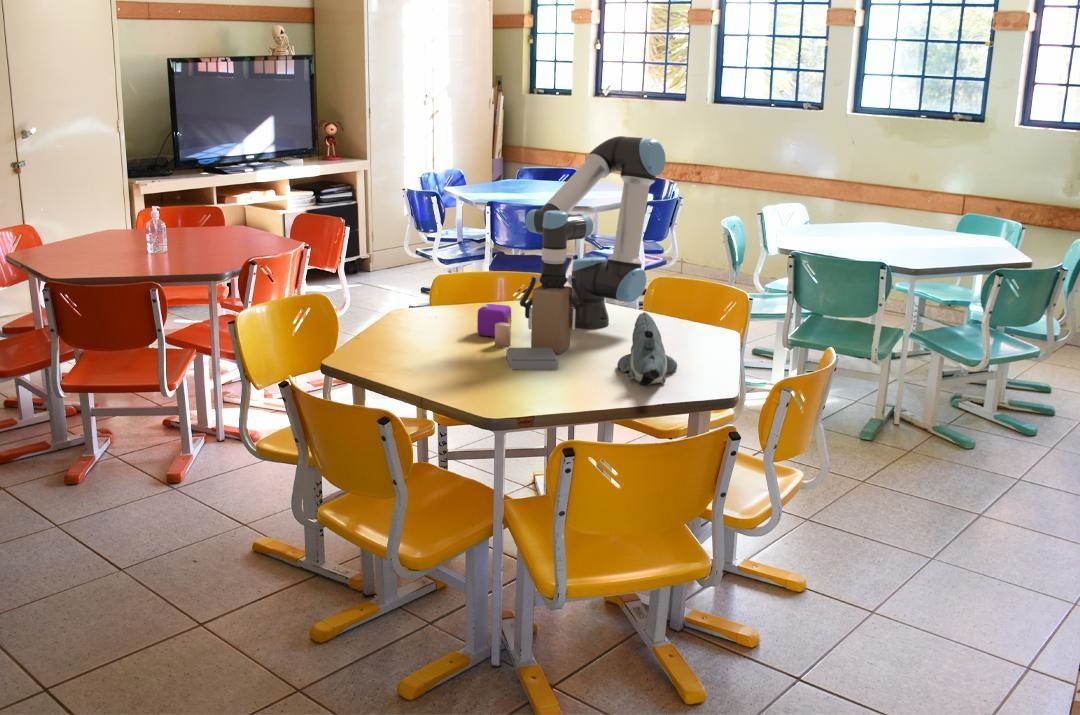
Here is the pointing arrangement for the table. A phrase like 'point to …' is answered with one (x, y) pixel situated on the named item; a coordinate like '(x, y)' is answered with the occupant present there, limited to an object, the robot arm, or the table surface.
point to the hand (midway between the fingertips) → (551, 328)
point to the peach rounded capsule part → (502, 334)
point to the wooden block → (551, 318)
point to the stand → (531, 358)
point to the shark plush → (647, 354)
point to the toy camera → (492, 318)
